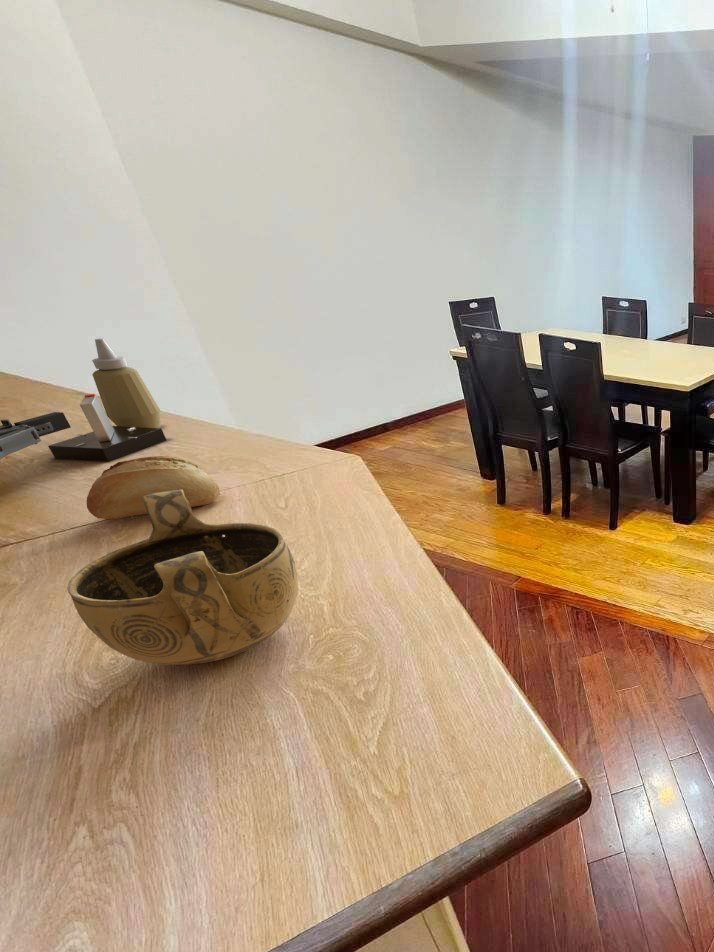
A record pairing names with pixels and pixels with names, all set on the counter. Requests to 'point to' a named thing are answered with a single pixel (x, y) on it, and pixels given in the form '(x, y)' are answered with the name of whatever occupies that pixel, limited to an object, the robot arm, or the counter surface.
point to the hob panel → (107, 444)
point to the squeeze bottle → (123, 391)
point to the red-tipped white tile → (97, 417)
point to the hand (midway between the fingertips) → (62, 419)
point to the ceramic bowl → (188, 588)
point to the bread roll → (147, 485)
